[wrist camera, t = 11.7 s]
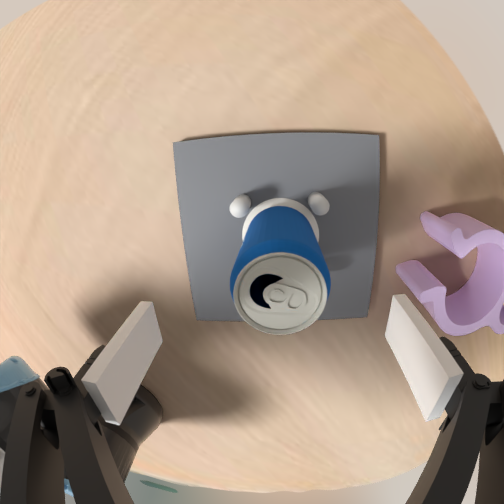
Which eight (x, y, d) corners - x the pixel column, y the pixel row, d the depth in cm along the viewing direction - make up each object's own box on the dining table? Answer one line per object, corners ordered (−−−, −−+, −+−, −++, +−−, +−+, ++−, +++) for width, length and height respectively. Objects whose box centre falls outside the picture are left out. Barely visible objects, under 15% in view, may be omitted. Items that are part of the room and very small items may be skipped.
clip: (515, 252, 27) (544, 270, 20) (477, 323, 31) (499, 350, 25) (429, 190, 26) (464, 203, 19) (383, 287, 30) (404, 320, 24)
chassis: (199, 314, 33) (189, 335, 30) (177, 142, 26) (161, 142, 23) (364, 311, 31) (373, 332, 27) (375, 135, 24) (390, 134, 20)
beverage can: (258, 195, 26) (244, 230, 15) (322, 217, 27) (352, 266, 15) (239, 255, 29) (214, 323, 18) (299, 274, 29) (308, 350, 18)
